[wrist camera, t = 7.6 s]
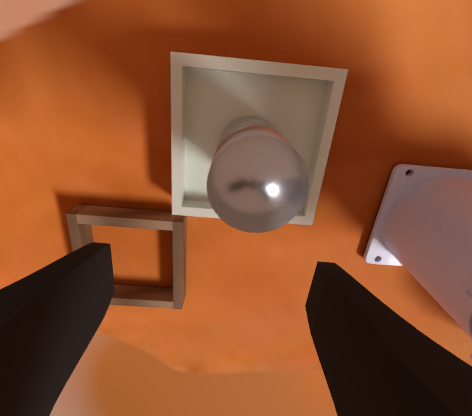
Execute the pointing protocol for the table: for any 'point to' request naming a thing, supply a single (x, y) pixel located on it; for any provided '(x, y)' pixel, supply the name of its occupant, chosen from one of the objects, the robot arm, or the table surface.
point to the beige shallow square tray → (247, 104)
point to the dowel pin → (256, 177)
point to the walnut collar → (135, 218)
